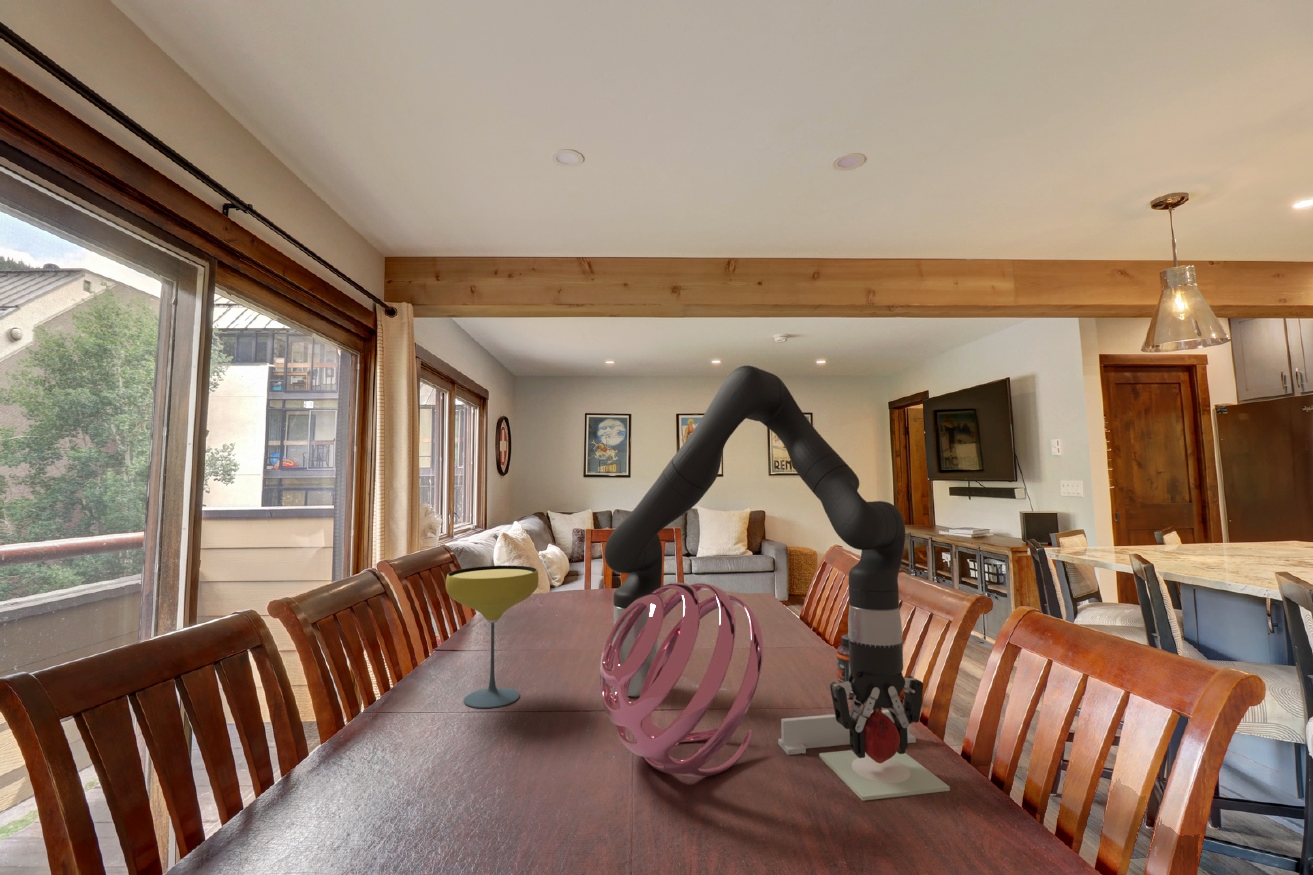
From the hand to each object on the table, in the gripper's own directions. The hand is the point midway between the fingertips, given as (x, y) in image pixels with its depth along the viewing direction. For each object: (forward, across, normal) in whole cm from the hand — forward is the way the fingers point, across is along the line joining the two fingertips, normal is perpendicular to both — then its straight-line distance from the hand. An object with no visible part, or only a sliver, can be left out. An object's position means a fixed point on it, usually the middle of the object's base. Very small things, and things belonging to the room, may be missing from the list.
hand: (878, 753), depth 87 cm
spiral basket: (+3, +28, -10) cm, 30 cm away
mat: (+3, 0, 0) cm, 3 cm away
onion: (+2, 0, 0) cm, 2 cm away
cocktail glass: (+3, +59, -43) cm, 73 cm away
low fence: (+3, 0, -10) cm, 10 cm away
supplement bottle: (+3, -12, -30) cm, 32 cm away
